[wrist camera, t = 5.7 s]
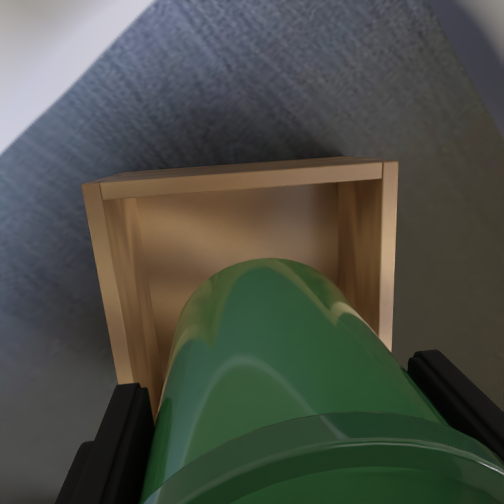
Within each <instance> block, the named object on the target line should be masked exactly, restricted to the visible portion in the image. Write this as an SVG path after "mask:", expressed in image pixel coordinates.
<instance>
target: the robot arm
mask: <svg viewBox="0 0 504 504" xmlns="http://www.w3.org/2000/svg"><path fill="white" fill-rule="evenodd" d="M407 373H408V374H409V375H410V376H411V377H412V379H413V380H414V381H415V382H416V384H417V385H418V386H419V387H420V389H421V390H422V391H423V392H424V393H425V395H426V396H427V397H428V398H429V400H430V401H431V402H432V403H433V404H434V406H435V407H436V408H437V409H438V411H439V412H440V413H441V414H442V416H443V417H444V418H445V419H446V420H447V422H448V423H449V424H450V425H451V427H452V428H453V429H455V430H457V431H459V432H461V433H463V434H465V435H467V436H469V437H471V438H474V439H476V440H477V441H479V442H480V443H481V444H483V445H484V446H486V447H487V448H489V449H490V450H491V451H493V452H494V453H496V454H497V455H498V456H499V457H500V458H501V459H502V460H503V461H504V412H503V411H502V410H501V409H500V408H499V407H497V406H496V405H495V404H494V403H493V402H492V401H491V400H490V399H489V398H488V397H487V396H486V395H485V394H484V393H483V392H482V391H481V390H480V389H479V388H478V387H477V386H475V385H474V384H473V383H472V382H471V381H470V380H469V379H468V378H467V377H466V376H465V375H464V374H463V373H462V372H461V371H460V370H459V369H458V368H457V367H456V366H455V365H453V364H452V363H451V362H450V361H449V360H448V359H447V358H446V357H445V356H444V355H443V354H442V353H441V352H440V351H438V350H427V351H418V352H415V354H414V356H413V357H412V358H409V361H408V372H407ZM154 427H155V426H154V420H153V414H152V408H151V402H150V397H149V391H148V388H147V387H143V388H141V385H140V383H139V382H137V383H128V384H119V385H117V386H116V388H115V390H114V392H113V395H112V397H111V400H110V402H109V405H108V408H107V410H106V413H105V415H104V418H103V420H102V423H101V425H100V428H99V430H98V433H97V435H96V438H95V440H94V441H88V442H84V443H83V444H81V446H80V448H79V450H78V452H77V454H76V456H75V459H74V461H73V463H72V465H71V468H70V470H69V472H68V475H67V477H66V479H65V481H64V484H63V486H62V488H61V491H60V493H59V495H58V497H57V500H56V502H55V504H139V499H140V495H141V490H142V485H143V480H144V475H145V470H146V466H147V461H148V456H149V451H150V446H151V441H152V437H153V432H154Z"/></svg>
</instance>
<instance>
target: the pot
mask: <svg viewBox="0 0 504 504" xmlns="http://www.w3.org/2000/svg"><path fill="white" fill-rule="evenodd" d="M139 504H504V461H503V460H502V459H501V458H500V457H499V456H498V455H497V454H496V453H494V452H493V451H491V450H490V449H489V448H487V447H486V446H484V445H483V444H481V443H480V442H479V441H477V440H476V439H474V438H471V437H469V436H467V435H465V434H463V433H461V432H459V431H457V430H455V429H453V428H452V427H451V425H450V424H449V423H448V422H447V420H446V419H445V418H444V417H443V416H442V414H441V413H440V412H439V411H438V409H437V408H436V407H435V406H434V404H433V403H432V402H431V401H430V400H429V398H428V397H427V396H426V395H425V393H424V392H423V391H422V390H421V389H420V387H419V386H418V385H417V384H416V382H415V381H414V380H413V379H412V377H411V376H410V375H409V374H408V373H407V371H406V370H405V369H404V368H403V366H402V365H401V364H400V363H399V361H398V360H397V359H396V358H395V357H394V355H393V354H392V353H391V352H390V350H389V349H388V348H387V347H386V346H385V344H384V343H383V342H382V341H381V339H380V338H379V337H378V336H377V334H376V333H375V332H374V331H373V330H372V328H371V327H370V326H369V325H368V323H367V322H366V321H365V320H364V318H363V317H362V316H361V315H360V314H359V312H358V311H357V310H356V309H355V307H354V306H353V305H352V304H351V303H350V301H349V300H348V299H347V298H346V296H345V295H344V294H343V293H342V291H341V290H340V289H339V288H338V287H337V286H336V285H335V284H334V283H333V282H332V281H331V280H330V279H329V278H328V277H326V276H325V275H324V274H323V273H321V272H319V271H318V270H316V269H314V268H312V267H310V266H308V265H305V264H303V263H300V262H296V261H292V260H288V259H280V258H259V259H253V260H247V261H244V262H240V263H236V264H234V265H232V266H229V267H227V268H224V269H223V270H221V271H219V272H217V273H216V274H214V275H212V276H211V277H210V278H208V279H207V280H206V281H205V282H203V283H202V284H201V285H200V286H199V287H198V288H197V289H196V290H195V291H194V292H193V294H192V295H191V296H190V297H189V299H188V300H187V302H186V303H185V305H184V307H183V308H182V310H181V312H180V315H179V317H178V320H177V323H176V327H175V331H174V335H173V340H172V345H171V350H170V355H169V359H168V364H167V369H166V374H165V379H164V384H163V388H162V393H161V398H160V403H159V408H158V413H157V417H156V422H155V427H154V432H153V437H152V441H151V446H150V451H149V456H148V461H147V466H146V470H145V475H144V480H143V485H142V490H141V495H140V499H139Z"/></svg>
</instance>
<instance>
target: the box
mask: <svg viewBox="0 0 504 504" xmlns="http://www.w3.org/2000/svg"><path fill="white" fill-rule="evenodd" d="M398 163H399V162H398V161H397V160H385V159H373V158H361V157H350V156H339V157H325V158H311V159H297V160H283V161H270V162H256V163H242V164H228V165H214V166H201V167H187V168H173V169H159V170H145V171H132V172H122V173H118V174H114V175H111V176H108V177H104V178H101V179H97V180H94V181H90V182H87V183H83V184H81V187H82V192H83V197H84V203H85V208H86V213H87V219H88V224H89V229H90V235H91V240H92V246H93V251H94V256H95V262H96V267H97V272H98V278H99V283H100V288H101V294H102V299H103V304H104V310H105V315H106V320H107V326H108V331H109V336H110V342H111V347H112V352H113V358H114V363H115V368H116V374H117V379H118V385H119V384H128V383H137V382H139V383H140V385H141V388H143V387H147V388H148V391H149V397H150V402H151V408H152V414H153V420H154V426H155V422H156V417H157V413H158V408H159V403H160V398H161V393H162V388H163V384H164V379H165V374H166V369H167V364H168V359H169V355H170V350H171V345H172V340H173V335H174V331H175V327H176V323H177V320H178V317H179V315H180V312H181V310H182V308H183V307H184V305H185V303H186V302H187V300H188V299H189V297H190V296H191V295H192V294H193V292H194V291H195V290H196V289H197V288H198V287H199V286H200V285H201V284H202V283H203V282H205V281H206V280H207V279H208V278H210V277H211V276H212V275H214V274H216V273H217V272H219V271H221V270H223V269H224V268H227V267H229V266H232V265H234V264H236V263H240V262H244V261H247V260H253V259H259V258H280V259H288V260H292V261H296V262H300V263H303V264H305V265H308V266H310V267H312V268H314V269H316V270H318V271H319V272H321V273H323V274H324V275H325V276H326V277H328V278H329V279H330V280H331V281H332V282H333V283H334V284H335V285H336V286H337V287H338V288H339V289H340V290H341V291H342V293H343V294H344V295H345V296H346V298H347V299H348V300H349V301H350V303H351V304H352V305H353V306H354V307H355V309H356V310H357V311H358V312H359V314H360V315H361V316H362V317H363V318H364V320H365V321H366V322H367V323H368V325H369V326H370V327H371V328H372V330H373V331H374V332H375V333H376V334H377V336H378V337H379V338H380V339H381V341H382V342H383V343H384V344H385V346H386V347H387V348H388V349H389V350H390V352H391V346H392V320H393V294H394V268H395V241H396V215H397V189H398Z"/></svg>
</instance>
